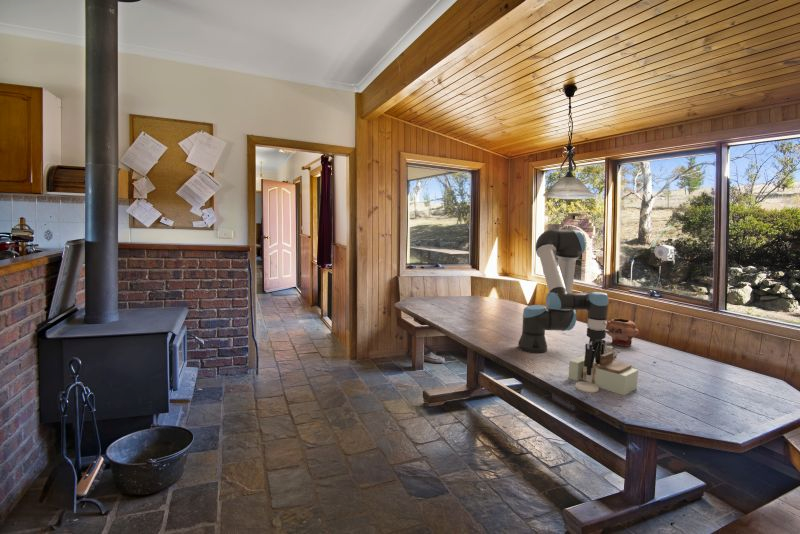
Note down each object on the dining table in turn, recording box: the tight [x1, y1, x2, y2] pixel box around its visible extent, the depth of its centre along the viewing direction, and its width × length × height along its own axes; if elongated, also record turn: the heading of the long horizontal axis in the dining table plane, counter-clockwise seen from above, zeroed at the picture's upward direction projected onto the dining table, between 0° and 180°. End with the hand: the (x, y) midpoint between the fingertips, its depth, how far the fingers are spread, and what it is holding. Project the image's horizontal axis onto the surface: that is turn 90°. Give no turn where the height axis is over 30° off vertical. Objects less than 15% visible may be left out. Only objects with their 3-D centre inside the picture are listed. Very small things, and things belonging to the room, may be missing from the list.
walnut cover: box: [597, 352, 632, 373], centre depth 188 cm, size 9×12×5 cm
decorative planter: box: [606, 318, 640, 347], centre depth 254 cm, size 20×12×14 cm, turn 53°
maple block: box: [582, 362, 599, 384], centre depth 195 cm, size 6×6×7 cm
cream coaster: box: [575, 381, 600, 394], centre depth 186 cm, size 9×9×1 cm
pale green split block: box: [567, 355, 639, 396], centre depth 192 cm, size 24×12×8 cm, turn 41°
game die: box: [604, 343, 620, 361], centre depth 223 cm, size 9×8×10 cm
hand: (593, 380), depth 196 cm, fingers closed on maple block, 6 cm apart
